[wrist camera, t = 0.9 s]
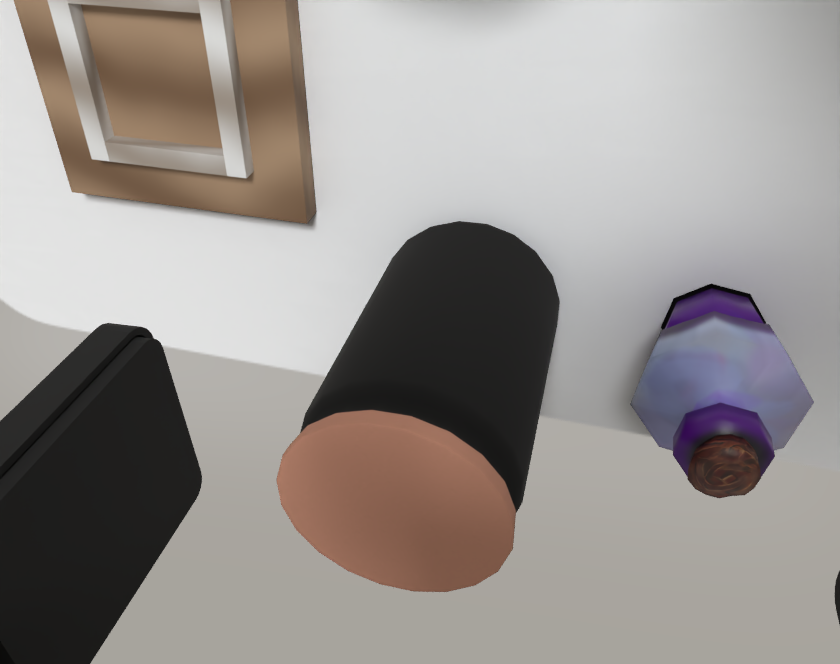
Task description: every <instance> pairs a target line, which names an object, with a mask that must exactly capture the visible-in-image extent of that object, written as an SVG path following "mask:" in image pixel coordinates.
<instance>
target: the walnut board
mask: <svg viewBox="0 0 840 664" xmlns="http://www.w3.org/2000/svg"><path fill="white" fill-rule="evenodd" d="M14 3H15V6H16V10H17V13H18V16H19V19H20V23H21V26H22V29H23V33H24V36H25V39H26V42H27V46H28V49H29V52H30V56H31V59H32V62H33V65H34V69H35V72H36V75H37V79H38V82H39V85H40V88H41V92H42V95H43V98H44V102H45V105H46V108H47V111H48V115H49V118H50V121H51V125H52V128H53V131H54V134H55V138H56V141H57V144H58V148H59V151H60V154H61V157H62V161H63V164H64V167H65V171H66V174H67V177H68V180H69V184H70V187H71V190H72V192H76V193H84V194H91V195H99V196H106V197H113V198H121V199H128V200H136V201H143V202H150V203H158V204H165V205H173V206H180V207H187V208H195V209H202V210H210V211H217V212H224V213H232V214H239V215H247V216H254V217H261V218H269V219H276V220H284V221H291V222H299V223H306V224H307V223H308V222H309V221H310V219H311V218H312V217H313V216H314V214H315V213H316V203H315V192H314V181H313V170H312V159H311V148H310V136H309V125H308V114H307V103H306V92H305V81H304V69H303V58H302V47H301V36H300V25H299V14H298V3H297V0H14Z"/></svg>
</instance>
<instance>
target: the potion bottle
mask: <svg viewBox="0 0 840 664" xmlns="http://www.w3.org/2000/svg"><path fill="white" fill-rule="evenodd" d="M661 328H662V331H661V333H660V335H659V338H658V340H657V342H656V344H655V346H654V349H653V351H652V353H651V355H650V357H649V360H648V362H647V364H646V366H645V369H644V371H643V374H642V376H641V379H640V381H639V384H638V386H637V389H636V391H635V394H634V396H633V399H632V401H631V406H632V407H633V409H634V410H635V412H636V413H637V415H638V416H639V418H640V419H641V421H642V422H643V423H644V425H645V426H646V428H647V429H648V431H649V432H650V434H651V435H652V437H653V438H654V440H655V441H656V443H657V444H658V445H659V447H662V448H666V449H669V450H672V451H673V456H674V457H675V459H676V460H677V462H678V463H679V465H680V466H681V467H682V469H683V470H684V472H685V474H686V475H687V477H688V480H689V482H690V483H691V484H692V485H693V487H694V488H695V489H697V490H698V491H700V492H702V493H704V494H706V495H709V496H713V497H717V498H722V497H727V496H737V495H745V494H747V493H748V492H749V491H751V490H752V489H753V488H754V487H755V486H756V484H757V483H758V482H759V480H760V479H761V476H762V475H763V473H764V472H765V470H766V469H767V467H768V466H769V464H770V463H771V461H772V460H773V458H774V457H775V455H774V450H777V449H781V448H784V446H785V445H786V443H787V442H788V440H789V439H790V437H791V436H792V434H793V433H794V431H795V430H796V428H797V427H798V425H799V424H800V422H801V421H802V419H803V418H804V416H805V415H806V413H807V412H808V410H809V409H810V407H811V406H812V404H813V403H814V401H813V400H812V398H811V396H810V394H809V392H808V390H807V389H806V387H805V385H804V383H803V381H802V379H801V378H800V376H799V374H798V372H797V370H796V369H795V367H794V365H793V363H792V361H791V359H790V358H789V356H788V354H787V352H786V351H785V349H784V347H783V346H782V344H781V343H780V341H779V340H778V338H777V336H776V335H775V333H774V332H773V330H772V328H771V327H770V325H768V324H766V322H765V320H764V319H763V317H762V315H761V313H760V311H759V309H758V308H757V306H756V304H755V302H754V300H753V299H752V297H751V295H750V294H748V293H744V292H740V291H736V290H733V289H729V288H725V287H721V286H717V285H714V284H709V285H707V286H704V287H702V288H699V289H696V290H694V291H691V292H689V293H686V294H684V295H681V296H679V297H676V298H674V299H673V302H672V304H671V306H670V308H669V311H668V313H667V315H666V317H665V319H664V322H663V324H662V326H661Z"/></svg>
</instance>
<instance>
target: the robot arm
mask: <svg viewBox="0 0 840 664" xmlns="http://www.w3.org/2000/svg"><path fill="white" fill-rule="evenodd" d="M201 483H202V475H201V471H200V467H199V464H198V460H197V457H196V454H195V451H194V448H193V444H192V441H191V438H190V435H189V431H188V428H187V425H186V421H185V419H184V415H183V412H182V408H181V405H180V402H179V399H178V396H177V392H176V389H175V386H174V383H173V379H172V376H171V373H170V369H169V366H168V363H167V360H166V356H165V353H164V350H163V347H162V345H161V343H160V342H159V341H158V340H156V339H154V338H153V336H152V334H151V333H150V332H149V331H148V330H147V329H146V328H143V327H137V326H128V325H120V324H111V323H107V324H102V325H101V326H99V327H98V328H96V329H95V330H94V331H93V332H92V333H91V334H90V335H89V336H88V337H87V338H86V339H85V340H84V341H83V342H82V343H81V344H80V345H79V346H78V347H77V348H76V349H75V350H74V351H73V352H71V353H70V354H69V355H68V356H67V357H66V358H65V359H64V360H63V361H62V362H61V363H60V364H59V365H58V366H57V367H56V368H55V369H54V370H53V371H52V372H51V373H50V374H49V375H48V376H47V377H46V378H45V379H44V380H43V381H41V382H40V384H38V385H37V386H36V387H35V388H34V389H33V390H32V391H31V392H30V393H29V394H28V395H27V396H26V397H25V398H24V399H23V400H22V401H21V402H20V403H19V404H18V405H17V406H16V407H15V408H14V409H13V410H11V411H10V412H9V413H8V414H7V415H6V416H5V417H4V418H3V419H2V420H1V421H0V664H90V663H91V661H92V660H93V658H94V656H95V655H96V653H97V652H98V650H99V649H100V647H101V646H102V644H103V643H104V641H105V639H106V638H107V637H108V635H109V633H110V632H111V630H112V629H113V627H114V626H115V624H116V623H117V621H118V620H119V618H120V616H121V615H122V613H123V612H124V610H125V609H126V607H127V606H128V604H129V602H130V601H131V599H132V598H133V596H134V595H135V593H136V592H137V590H138V588H139V587H140V585H141V584H142V582H143V581H144V579H145V578H146V576H147V574H148V573H149V571H150V570H151V568H152V566H153V565H154V564H155V562H156V560H157V559H158V557H159V556H160V554H161V553H162V551H163V550H164V548H165V547H166V545H167V543H168V542H169V540H170V539H171V537H172V536H173V534H174V533H175V531H176V529H177V528H178V526H179V525H180V523H181V522H182V520H183V519H184V517H185V515H186V514H187V512H188V511H189V509H190V508H191V506H192V505H193V503H194V502H195V500H196V498H197V496H198V494H199V491H200V488H201ZM835 604H836V610H837V615H838V619H839V624H840V571H839V574H838V577H837V579H836V585H835Z"/></svg>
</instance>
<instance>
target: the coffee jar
mask: <svg viewBox="0 0 840 664" xmlns="http://www.w3.org/2000/svg"><path fill="white" fill-rule="evenodd" d="M558 311H559V297H558V294H557V290H556V286H555V283H554V279H553V276H552V274H551V273H550V271H549V270H548V269H547V267H546V266H545V264H544V263H543V261H542V260H541V259H540V257H539V256H538V254H537V253H536V252H535V251H534V250H533V249H532V248H530V247H529V246H528V245H526V244H525V243H524V242H522V241H521V240H520V239H519V238H517V237H516V236H515V235H513V234H511V233H508V232H506V231H503V230H501V229H498V228H496V227H493V226H491V225H488V224H481V223H471V222H461V221H458V222H453V223H448V224H442V225H437V226H433V227H430V228H428V229H426V230H424V231H423V232H421V233H419V234H417V235H415V236H414V237H412V238H410V239H408V240H407V241H406V242H405V244H404V245H403V246H402V247H401V248H400V250H399V251H398V252H397V253H396V255H395V256H394V257H393V258H392V260H391V262H390V263H389V265H388V267H387V269H386V271H385V272H384V274H383V276H382V278H381V280H380V281H379V283H378V285H377V287H376V288H375V290H374V292H373V294H372V296H371V297H370V299H369V301H368V303H367V305H366V306H365V308H364V310H363V312H362V314H361V315H360V317H359V319H358V321H357V322H356V324H355V326H354V328H353V330H352V331H351V333H350V335H349V337H348V339H347V340H346V342H345V344H344V346H343V347H342V349H341V351H340V353H339V355H338V356H337V358H336V360H335V362H334V364H333V365H332V367H331V369H330V371H329V372H328V374H327V376H326V378H325V380H324V381H323V383H322V385H321V387H320V389H319V390H318V392H317V394H316V396H315V398H314V399H313V401H312V403H311V405H310V407H309V408H308V410H307V412H306V414H305V417H304V422H303V425H302V429H301V432H300V434H299V435H298V436H297V438H296V439H295V440H294V441H293V442H292V443H291V444H290V446H289V447H288V448H287V450H286V451H285V453H284V454H283V456H282V460H281V464H280V468H279V472H278V476H277V485H278V490H279V494H280V500H281V505H282V507H283V508H284V510H285V512H286V514H287V515H288V517H289V519H290V520H291V522H292V523H293V525H294V527H295V528H296V530H297V531H298V532H299V533H300V534H301V535H302V536H303V537H304V538H305V539H306V540H307V541H308V542H309V543H310V544H311V545H312V546H313V547H314V548H315V549H316V550H317V551H318V552H319V553H321V554H323V555H324V556H326V557H327V558H329V559H330V560H332V561H333V562H335V563H337V564H338V565H340V566H341V567H343V568H344V569H346V570H347V571H350V572H352V573H355V574H357V575H359V576H362V577H364V578H367V579H369V580H371V581H374V582H377V583H379V584H382V585H387V586H392V587H396V588H401V589H405V590H410V591H423V592H425V591H426V592H448V591H452V590H457V589H461V588H465V587H469V586H474V585H476V584H478V583H480V582H481V581H483V580H485V579H486V578H488V577H490V576H491V575H493V574H494V573H496V572H498V570H499V569H500V568H501V566H502V564H503V563H504V561H505V560H506V558H507V557H508V555H509V554H510V552H511V551H512V549H513V539H514V528H515V516H516V512H517V511H518V509H519V507H520V505H521V503H522V501H523V496H524V491H525V486H526V481H527V475H528V470H529V465H530V460H531V455H532V450H533V445H534V440H535V434H536V429H537V424H538V419H539V414H540V409H541V404H542V399H543V394H544V388H545V383H546V378H547V373H548V368H549V363H550V358H551V353H552V348H553V342H554V337H555V332H556V327H557V320H558Z"/></svg>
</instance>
